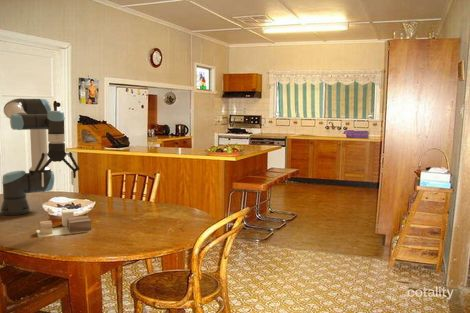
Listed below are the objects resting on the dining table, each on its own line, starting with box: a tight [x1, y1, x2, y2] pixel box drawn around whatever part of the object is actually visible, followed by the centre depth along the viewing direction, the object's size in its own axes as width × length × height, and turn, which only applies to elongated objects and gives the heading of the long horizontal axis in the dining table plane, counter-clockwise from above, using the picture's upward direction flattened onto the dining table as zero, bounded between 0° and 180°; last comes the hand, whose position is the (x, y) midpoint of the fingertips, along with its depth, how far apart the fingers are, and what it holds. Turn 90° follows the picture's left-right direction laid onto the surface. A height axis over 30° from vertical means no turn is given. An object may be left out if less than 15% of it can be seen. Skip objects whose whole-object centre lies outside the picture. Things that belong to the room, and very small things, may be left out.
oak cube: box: [39, 220, 53, 235], centre depth 206 cm, size 5×5×5 cm
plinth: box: [66, 215, 92, 234], centre depth 213 cm, size 10×10×5 cm
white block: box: [61, 209, 75, 227], centre depth 220 cm, size 5×5×8 cm
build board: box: [36, 226, 89, 238], centre depth 210 cm, size 12×24×1 cm, turn 118°
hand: (57, 185), depth 212 cm, fingers open, 13 cm apart
